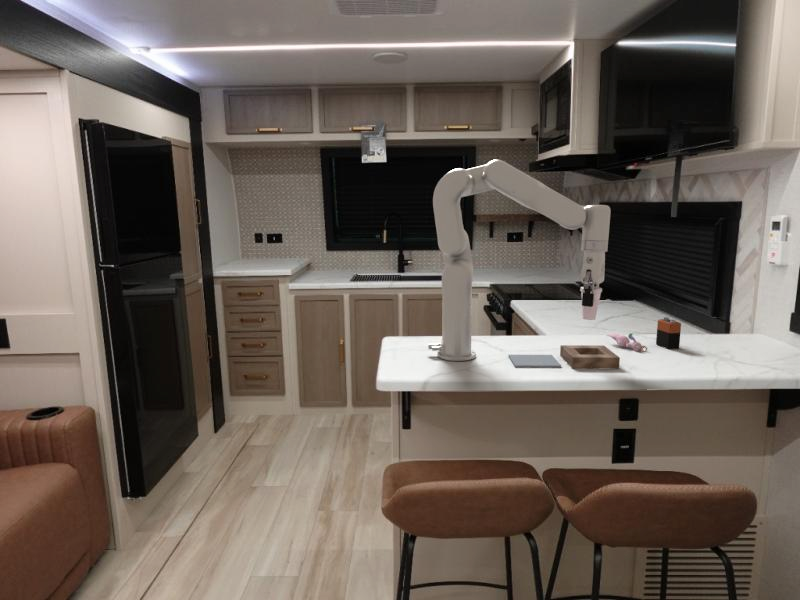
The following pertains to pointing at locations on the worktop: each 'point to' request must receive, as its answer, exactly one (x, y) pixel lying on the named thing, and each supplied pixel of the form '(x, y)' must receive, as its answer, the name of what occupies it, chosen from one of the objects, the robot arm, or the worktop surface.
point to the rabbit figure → (627, 342)
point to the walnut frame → (589, 356)
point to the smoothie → (590, 312)
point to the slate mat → (534, 361)
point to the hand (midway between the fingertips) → (590, 303)
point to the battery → (668, 333)
